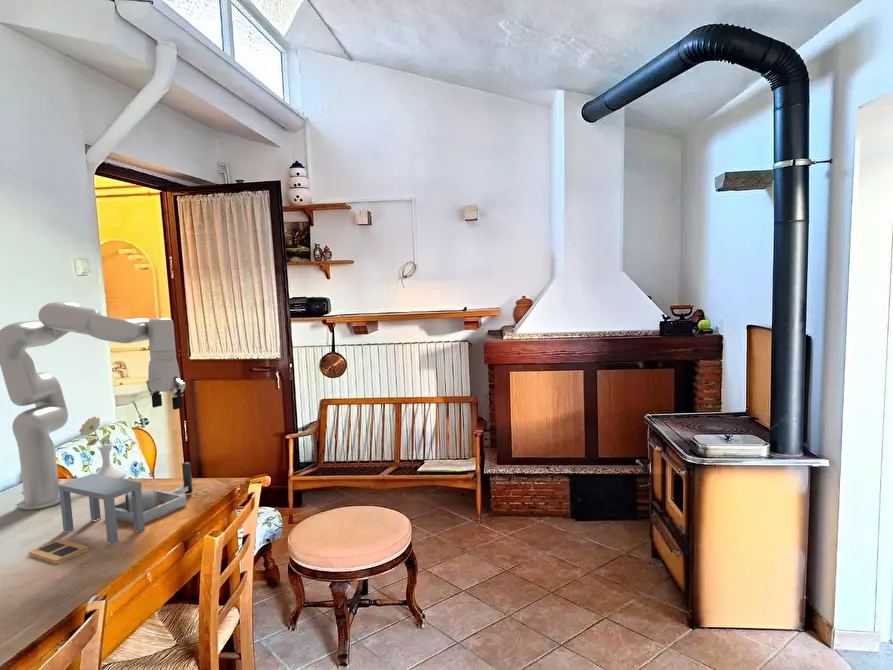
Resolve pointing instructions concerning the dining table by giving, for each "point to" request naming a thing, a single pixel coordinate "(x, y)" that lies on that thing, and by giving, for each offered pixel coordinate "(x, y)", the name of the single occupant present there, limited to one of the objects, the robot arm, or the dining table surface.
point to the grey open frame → (171, 499)
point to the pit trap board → (58, 551)
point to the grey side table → (106, 491)
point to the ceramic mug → (143, 500)
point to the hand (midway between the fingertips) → (167, 407)
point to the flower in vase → (101, 449)
